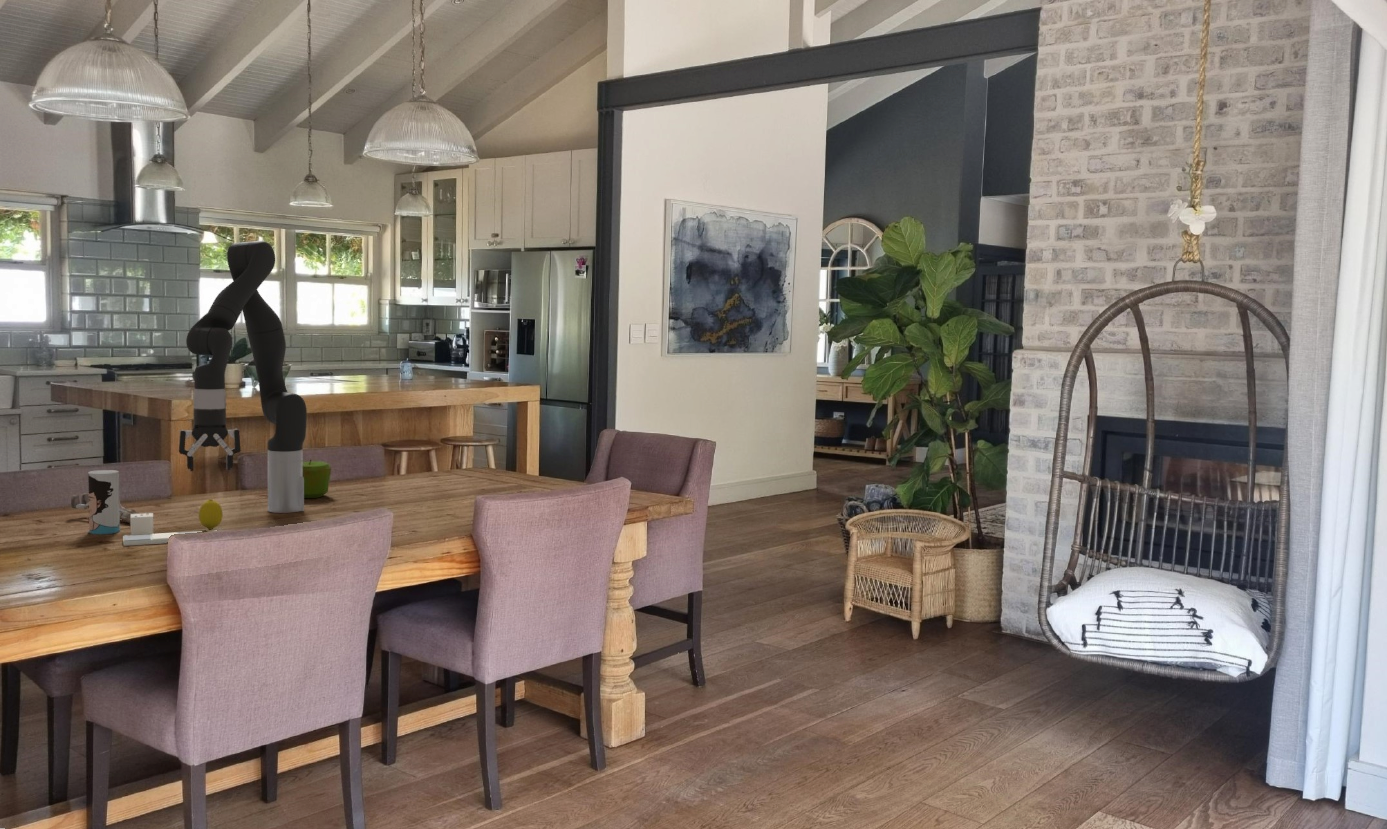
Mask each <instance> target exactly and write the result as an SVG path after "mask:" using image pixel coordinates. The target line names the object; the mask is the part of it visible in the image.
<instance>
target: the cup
mask: <svg viewBox="0 0 1387 829" xmlns="http://www.w3.org/2000/svg"><path fill="white" fill-rule="evenodd" d="M87 473H88V479H87V480H88V494H89V508H88V517H89V518H88V524H89V525H88V527H89V529H88V533H89V534H92V535H108V534H109V535H110V534H116V533H119V532H120V531H121V530H120V528H121V524H120V523H121V521H120V520H121V519H120V518H119V503H120V471H119V470H115V469H99V470H98V469H97V470H91V471H88V472H87Z"/></svg>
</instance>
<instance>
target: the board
mask: <svg viewBox="0 0 1387 829" xmlns="http://www.w3.org/2000/svg"><path fill="white" fill-rule="evenodd" d="M217 530H218V529H215V530H214V529H212V530H210V531H217ZM202 531H203V530H199V531H198V530H197V531H196V530H195V531H194V530H193V531H178V532H163V533H162V532H160V533H153V534H139V535H131V534H125V535H123V536H122V542H123V546H124V547H125V546H128V547H129V546H141V545H159V544H160V545H162V544H168V543H167V541H168V539H169V537H170V536H171V535H174V534H185V533H197V532H202Z"/></svg>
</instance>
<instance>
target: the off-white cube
mask: <svg viewBox="0 0 1387 829" xmlns="http://www.w3.org/2000/svg"><path fill="white" fill-rule="evenodd" d="M130 522H131V523H130V524H129V527H130V535H139V534H154V513H153V512H147V513H145V512H144V513H140V514H131V517H130Z"/></svg>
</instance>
